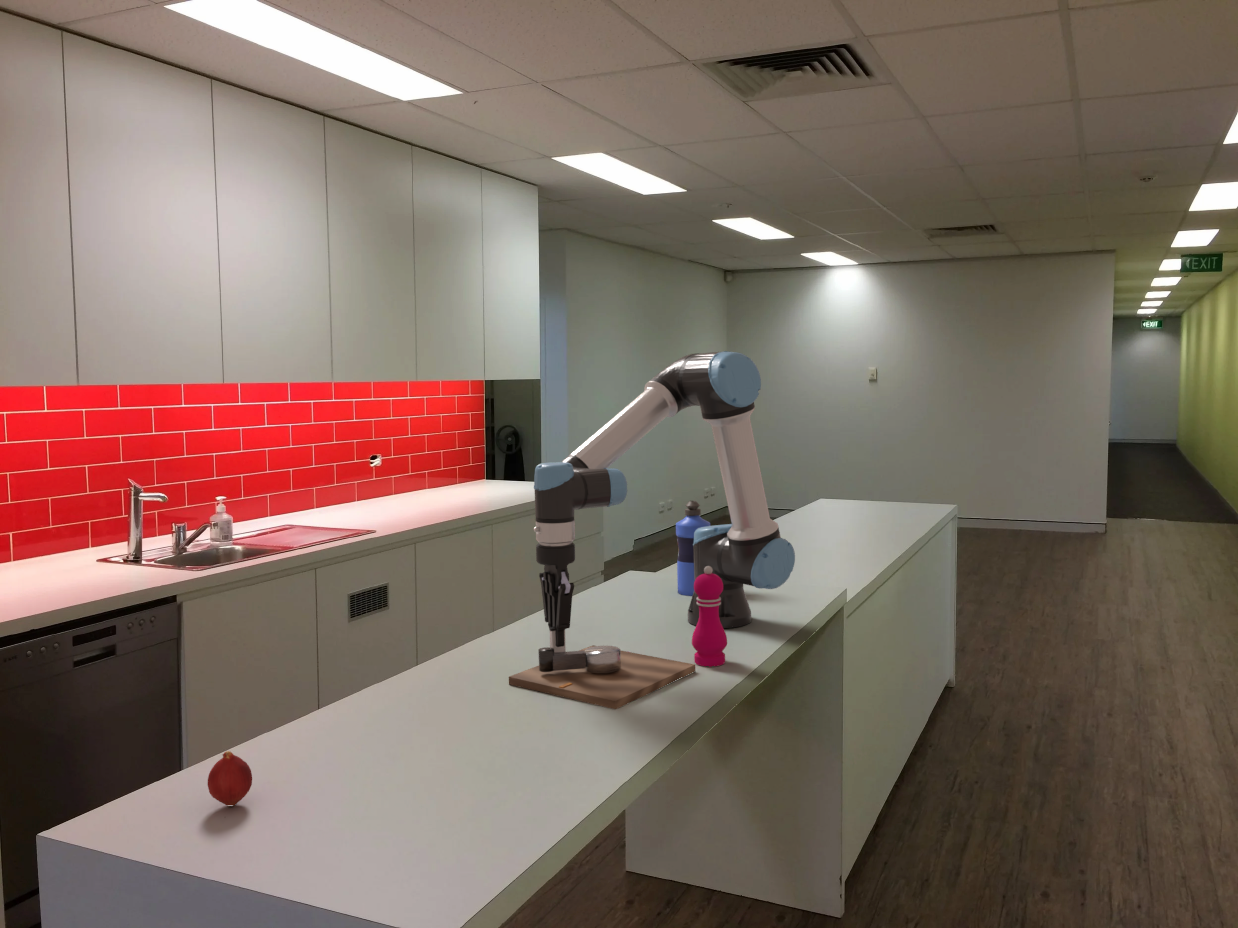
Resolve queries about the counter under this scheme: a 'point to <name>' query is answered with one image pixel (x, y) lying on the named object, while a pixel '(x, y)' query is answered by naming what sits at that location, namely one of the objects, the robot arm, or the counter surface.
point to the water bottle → (687, 547)
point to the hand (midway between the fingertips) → (558, 661)
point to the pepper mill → (709, 621)
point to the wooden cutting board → (606, 680)
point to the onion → (229, 779)
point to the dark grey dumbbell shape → (581, 659)
